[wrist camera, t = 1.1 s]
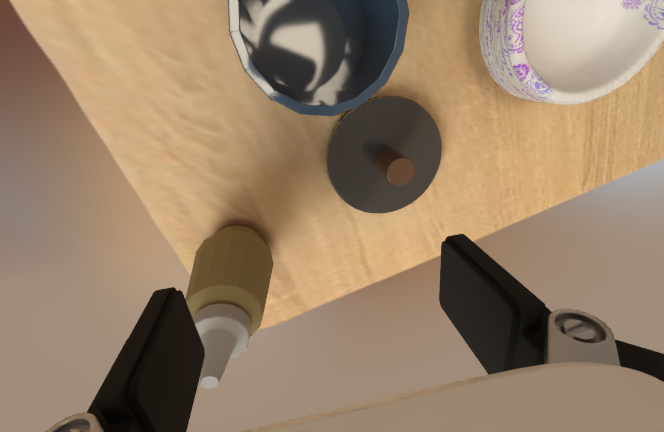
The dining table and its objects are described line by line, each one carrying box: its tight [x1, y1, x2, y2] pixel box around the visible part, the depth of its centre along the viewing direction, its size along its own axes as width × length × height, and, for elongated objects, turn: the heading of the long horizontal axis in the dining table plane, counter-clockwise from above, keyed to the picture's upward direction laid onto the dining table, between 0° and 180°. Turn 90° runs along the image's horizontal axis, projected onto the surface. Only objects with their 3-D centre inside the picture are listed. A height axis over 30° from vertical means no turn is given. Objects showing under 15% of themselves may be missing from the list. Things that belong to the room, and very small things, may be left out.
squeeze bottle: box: [186, 225, 273, 389], centre depth 29 cm, size 8×8×18 cm
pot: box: [228, 0, 409, 116], centre depth 25 cm, size 12×12×10 cm
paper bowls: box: [479, 0, 664, 105], centre depth 28 cm, size 15×15×8 cm
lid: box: [326, 96, 442, 213], centre depth 33 cm, size 13×13×6 cm
